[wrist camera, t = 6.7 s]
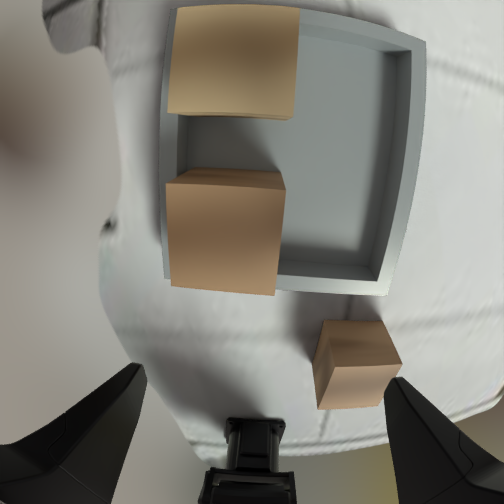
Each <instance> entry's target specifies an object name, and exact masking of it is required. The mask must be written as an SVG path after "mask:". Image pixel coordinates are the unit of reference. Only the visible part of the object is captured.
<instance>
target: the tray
mask: <svg viewBox="0 0 504 504" xmlns="http://www.w3.org/2000/svg"><path fill="white" fill-rule="evenodd" d="M177 11H178V8H175V9H171V11H170V17H169V24H168V31H167V39H166V47H165V56H164V66H163V77H162V90H161V107H160V131H159V200H160V224H161V242H162V256H163V268H164V279H171V278H170V266H169V252H168V235H167V213H166V183H167V182H169V181H171V180H173V179H174V178H176V177H178V176H180V175H181V174H183V173H185V172H187V171H189V170H190V169H192V168H194V167H208V168H230V169H247V170H261V171H273V172H281V174H282V177H283V181H284V184H285V188H286V198H285V208H284V217H283V226H282V236H281V245H280V253H279V262H278V270H277V279H276V287H275V289H278V290H291V291H305V292H320V293H337V294H355V295H377V296H387V293H388V290H389V287H390V284H391V281H392V278H393V275H394V271H395V268H396V265H397V261H398V258H399V254H400V251H401V247H402V243H403V239H404V235H405V231H406V227H407V223H408V219H409V214H410V210H411V205H412V200H413V195H414V190H415V185H416V179H417V173H418V167H419V160H420V153H421V146H422V137H423V127H424V116H425V101H426V41H423V40H421V39H418V38H416V37H413V36H411V35H408V34H405V33H402V32H399V31H397V30H394V29H391V28H387V27H384V26H381V25H378V24H374V23H371V22H367V21H363V20H359V19H355V18H351V17H347V16H342V15H338V14H333V13H327V12H322V11H315V10H309V9H301V8H300V20H299V40H298V57H297V72H296V87H295V100H294V113H293V117H292V118H290V119H288V120H287V121H279V120H268V119H253V118H234V117H194V116H188V115H181V114H173V113H167V110H168V93H169V79H170V68H171V57H172V48H173V40H174V32H175V24H176V17H177Z"/></svg>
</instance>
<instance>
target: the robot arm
mask: <svg viewBox="0 0 504 504" xmlns="http://www.w3.org/2000/svg"><path fill="white" fill-rule="evenodd" d="M146 386H147V377H146V373H145V370H144V367H143V365H142V364H139V363H134V362H132V363H130V364H129V365H127V366H126V367H125V368H123V369H122V370H121V371H119V372H118V373H117V374H115V375H114V376H113V377H111V378H110V379H109V380H107V381H106V382H105V383H103V384H102V385H101V386H99V387H98V388H97V389H95V390H94V391H93V392H91V393H90V394H89V395H87V396H86V397H85V398H83V399H82V400H81V401H79V402H78V403H77V404H75V405H74V406H72V407H71V408H70V409H68V410H67V411H66V412H65V413H63V414H62V415H60V416H59V417H57V418H56V419H54V420H53V421H52V422H50V423H49V424H47V425H45V426H44V427H42V428H40V429H39V430H37V431H35V432H33V433H31V434H30V435H28V436H26V437H24V438H22V439H21V440H19V441H17V442H14V443H11V444H6V445H0V504H111V501H112V498H113V495H114V492H115V488H116V485H117V482H118V479H119V476H120V473H121V470H122V467H123V463H124V460H125V457H126V454H127V452H128V449H129V446H130V443H131V440H132V437H133V434H134V431H135V428H136V426H137V423H138V419H139V416H140V412H141V407H142V403H143V399H144V395H145V390H146ZM384 405H385V415H386V425H387V433H388V438H389V443H390V448H391V454H392V459H393V465H394V470H395V476H396V484H397V491H398V499H399V504H504V463H503V462H501V461H499V460H498V459H496V458H495V457H494V456H492V455H491V454H490V453H488V452H487V451H485V450H484V449H483V448H481V447H480V446H479V445H477V444H476V443H475V442H474V441H473V440H471V439H470V438H469V437H468V436H467V435H466V434H465V433H464V432H462V431H461V430H460V429H459V428H458V427H457V426H456V425H455V424H454V423H453V422H451V421H450V420H449V419H448V418H447V417H446V416H445V415H444V414H443V413H442V412H441V411H439V410H438V409H437V408H436V407H435V406H434V405H433V404H432V403H431V402H430V401H428V400H427V399H426V398H425V397H424V396H423V395H422V394H421V393H420V392H419V391H418V390H416V389H415V388H414V387H413V386H412V385H411V384H410V383H409V382H408V381H406V380H405V379H404V378H403V377H393V378H392V379H391V380H390V382H389V384H388V385H387V387H386V389H385V391H384ZM285 427H286V423H285V422H277V421H258V420H245V419H234V418H228V419H227V421H226V443H227V444H228V451H227V459H226V467H225V469H219V468H216V467H211V468H210V471H206V474H205V479H204V484H203V487H202V490H201V493H200V496H199V499H198V504H297V501H296V489H295V480H294V472H293V471H290V472H278V471H279V444H280V441H281V438H282V436H283V433H284V430H285ZM218 484H219V486H218Z"/></svg>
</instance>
